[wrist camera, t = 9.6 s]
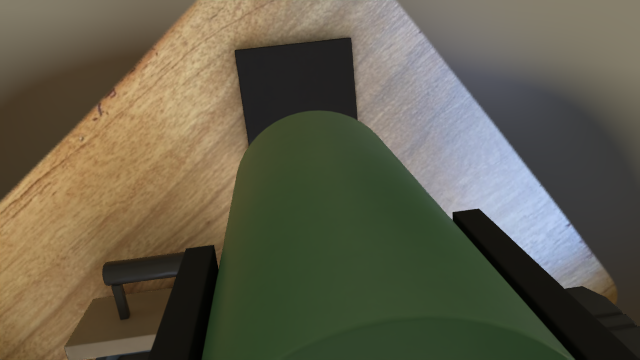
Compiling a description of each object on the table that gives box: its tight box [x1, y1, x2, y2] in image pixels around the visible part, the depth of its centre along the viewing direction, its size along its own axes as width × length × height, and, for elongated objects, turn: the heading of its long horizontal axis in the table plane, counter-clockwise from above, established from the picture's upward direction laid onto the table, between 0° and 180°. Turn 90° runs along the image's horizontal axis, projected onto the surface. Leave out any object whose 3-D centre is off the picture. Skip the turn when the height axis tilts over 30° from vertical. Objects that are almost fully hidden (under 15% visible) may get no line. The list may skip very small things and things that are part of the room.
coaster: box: [235, 38, 357, 146], centre depth 36 cm, size 8×8×1 cm
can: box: [202, 110, 575, 360], centre depth 14 cm, size 7×7×14 cm
